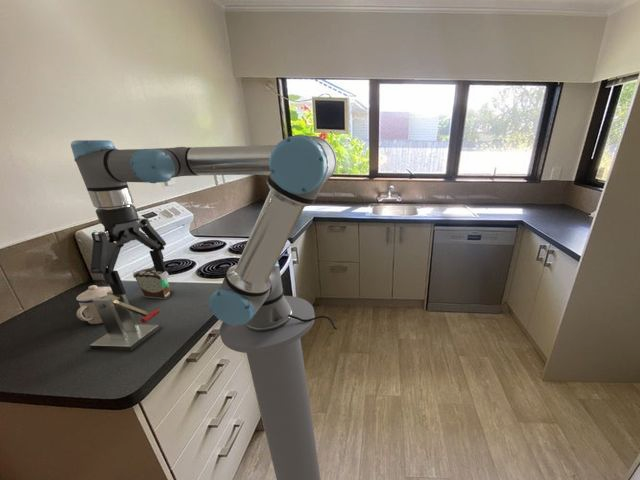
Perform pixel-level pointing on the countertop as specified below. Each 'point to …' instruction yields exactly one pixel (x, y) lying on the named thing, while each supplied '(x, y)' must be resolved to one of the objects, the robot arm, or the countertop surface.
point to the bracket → (120, 326)
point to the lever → (133, 308)
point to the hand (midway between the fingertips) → (142, 281)
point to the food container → (153, 283)
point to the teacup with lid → (91, 303)
